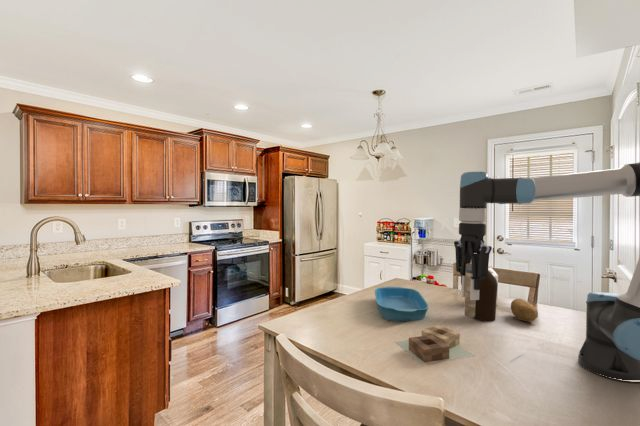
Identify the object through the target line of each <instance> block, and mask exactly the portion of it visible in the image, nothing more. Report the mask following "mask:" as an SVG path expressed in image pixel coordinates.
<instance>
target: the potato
mask: <svg viewBox="0 0 640 426" xmlns="http://www.w3.org/2000/svg"><path fill="white" fill-rule="evenodd" d="M510 310H511V313H512V315H513V316H514V317H515V318H517V319H518V320H521V321H524V322H528V323H530V322H533V321H535V320H536V319H537V318H538V317H539V313H538V309H537V308H536V307H535V306H534V304H532V303H531V302H529V301H527V300H525V299H522V298H515V299H513V300H511V304H510Z"/></svg>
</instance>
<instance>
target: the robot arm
mask: <svg viewBox="0 0 640 426" xmlns="http://www.w3.org/2000/svg"><path fill="white" fill-rule="evenodd" d="M459 181H460V184H459V209H458V221H459V224H458V234H459V235H460V236H461V237H460V238H459V240H457V241H456V240H455V241H454V242H453V244H454V248H455V270H456V272H457V273H459V275H460V277H461V278H460V284H461V297H462V298H465V277H466V272H465V271H466V264H467V263H471V264H472V274H473V277H471V281H470V300H479V290H480V289H481V279H483V278H487V273H488V266H489V262H490V255H491V251H492V250H493V248H492V246H491V245H487V244H486V243H485V239H484V237H485V236H486V234H487V224H486V222H487V205H488V204H499V205H506V204H507V205H508V204H509V205H510V204H512V205H513V204H514V205H515V204H516V205H524V204H526V205H527V204H532V203H533V202H537V201H538V202H539V201H550V200H563V199H564V200H565V199H575V198H578V199H579V198H587V197H602V196H611V195H612V196H614V195H621V196H624V197H626V198H630V197H631V198H633V197H640V161H639V162H634V163H626V164H622V165H621V166H620V167H619V168H612V169H604V170H603V169H602V170H593V171H585V172H575V173H567V174H556V175H548V176H539V177H538V176H537V177H532V178H531V177H511V178H510V177H503V178H490V177H489V175H488V173H487V171H467V172H463V173H462V174H461V175H460V180H459ZM586 296H587V297H586V301H585V303H586V313H585V314H586V316H585V317H586V322H585V323H586V325H585V326H586V327H585V329H586V331H585V339H584V342H583V343H582V346H581V348H580V350H579V352H578V356H577V358H578V359H577V361H579V362H578V364H579V363H580V364H581V365H582V366H581V365H580V366H581V367H583V366H584V367H585V368H584V367H583V368H584V369H586V368H587V369H589V370H591V371H593V372H595V373H598V374H601V375H604V376H607V377H611V378H616V379H622V380H640V256H638V260H637V263H636V265H635V269H634V272H633V274H632V277H631V280H630V282H629V285H628V288H627V291H626V292H625V293H612V292H606V291H605V292H601V291H591V292H589V293H587V295H586ZM587 369H586V370H587ZM589 370H588V371H589ZM591 371H590V372H591ZM593 372H592V373H593ZM595 373H594V374H595ZM598 374H597V375H598ZM601 375H600V376H601Z"/></svg>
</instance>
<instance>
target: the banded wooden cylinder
mask: <svg viewBox="0 0 640 426" xmlns="http://www.w3.org/2000/svg"><path fill="white" fill-rule="evenodd" d="M465 272H466V277H465V297H464V312H463V313H464V315H463V316H465V317H468V318H473V317H475V303H476V300H470V281H471V277H473V274H472V262H471V263H467V264H466V271H465Z"/></svg>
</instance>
